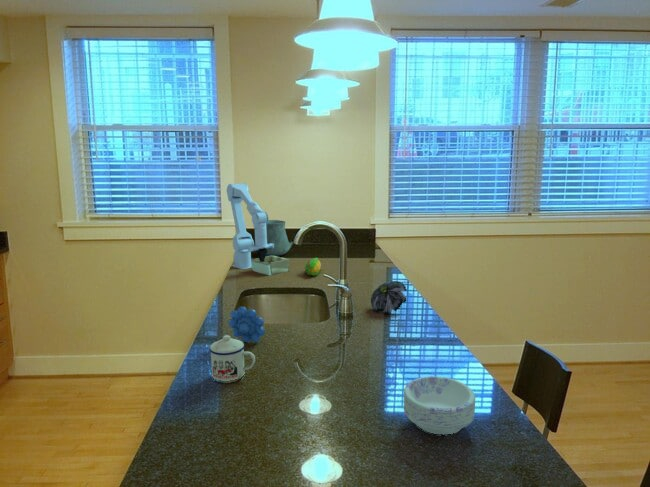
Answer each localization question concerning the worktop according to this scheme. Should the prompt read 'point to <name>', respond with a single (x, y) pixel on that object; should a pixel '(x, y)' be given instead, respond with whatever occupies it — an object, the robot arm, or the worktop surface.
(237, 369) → the teacup with lid
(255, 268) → the tailgate
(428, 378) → the paper bowls
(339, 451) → the worktop surface
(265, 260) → the crate
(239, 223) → the robot arm
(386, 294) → the decorative flower
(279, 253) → the vessel
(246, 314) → the blue flower ornament
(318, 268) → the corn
